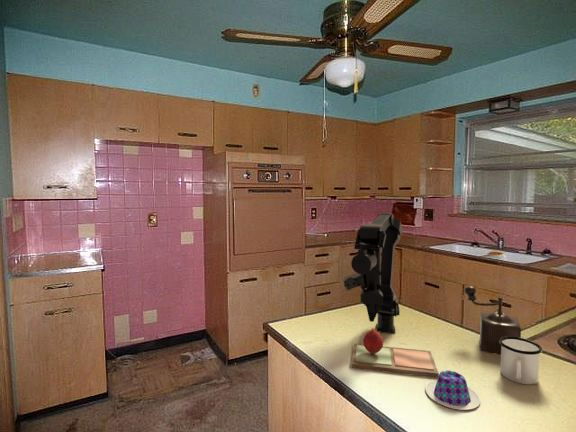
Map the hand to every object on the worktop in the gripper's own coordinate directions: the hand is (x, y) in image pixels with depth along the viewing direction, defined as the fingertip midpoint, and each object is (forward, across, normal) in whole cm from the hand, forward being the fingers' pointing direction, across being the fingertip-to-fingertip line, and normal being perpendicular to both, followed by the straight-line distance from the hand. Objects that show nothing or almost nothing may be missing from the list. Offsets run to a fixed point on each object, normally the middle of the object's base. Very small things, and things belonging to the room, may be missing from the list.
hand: (371, 315), depth 103 cm
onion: (+10, +5, 0) cm, 11 cm away
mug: (+12, +8, +38) cm, 40 cm away
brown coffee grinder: (+12, -12, +37) cm, 41 cm away
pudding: (+12, +19, +19) cm, 29 cm away
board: (+12, +5, +6) cm, 14 cm away
